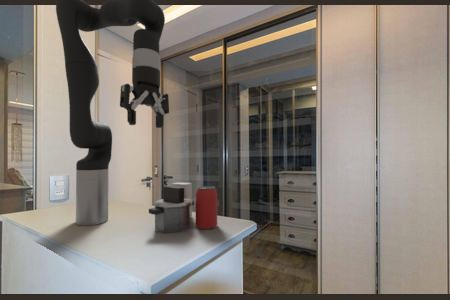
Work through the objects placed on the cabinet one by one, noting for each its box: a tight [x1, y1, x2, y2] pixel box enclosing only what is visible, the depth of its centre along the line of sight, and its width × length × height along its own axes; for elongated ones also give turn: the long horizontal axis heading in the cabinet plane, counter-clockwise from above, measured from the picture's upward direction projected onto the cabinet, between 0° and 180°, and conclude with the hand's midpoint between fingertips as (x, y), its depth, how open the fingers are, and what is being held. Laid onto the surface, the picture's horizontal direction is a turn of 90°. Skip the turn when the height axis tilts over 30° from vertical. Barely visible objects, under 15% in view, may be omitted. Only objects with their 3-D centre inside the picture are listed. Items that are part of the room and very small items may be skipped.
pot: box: [148, 200, 195, 234], centre depth 69 cm, size 10×15×7 cm, turn 143°
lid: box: [153, 185, 193, 209], centre depth 69 cm, size 11×11×5 cm
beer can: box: [195, 185, 218, 230], centre depth 69 cm, size 7×7×12 cm
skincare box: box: [170, 182, 193, 218], centre depth 80 cm, size 6×4×12 cm
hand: (146, 126), depth 64 cm, fingers open, 8 cm apart
